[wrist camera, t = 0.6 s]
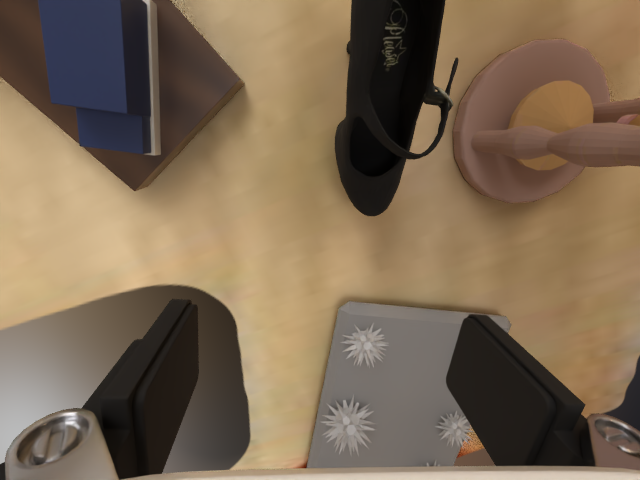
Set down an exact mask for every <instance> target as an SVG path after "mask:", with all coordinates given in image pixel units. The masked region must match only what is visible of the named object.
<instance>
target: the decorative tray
mask: <svg viewBox="0 0 640 480" xmlns="http://www.w3.org/2000/svg"><path fill="white" fill-rule="evenodd" d="M470 314H479V313H468V312H458V311H447V310H437V309H427V308H416V307H406V306H395V305H385V304H374V303H364V302H354V301H349V302H347V303H346V304H344V305H343V306H341V307H339V310H338V315H337V320H336V325H335V329H334V334H333V339H332V344H331V349H330V354H329V359H328V364H327V369H326V374H325V379H324V384H323V389H322V394H321V399H320V404H319V409H318V413H317V418H316V423H315V428H314V433H313V438H312V443H311V448H310V453H309V458H308V463H307V468H351V467H432V466H453V465H454V463H455V460H456V458H457V455H458V453H459V451H460V448H461V446H462V447H463V445H462V444H463V441H464V440H465V441H466V442H467V443H468V441H467V440H469V439H471V438H470V437H469V436H468V435H467V432H473V431H470V430H468V429H469V428H470V423H469V422H468V420H467V418H466V417H465V415H464V413H463V412H462V410H461V409H460V407H459V405H458V404H457V402H456V401H455V399H454V397H453V396H452V394H451V392H450V391H449V389H448V387H447V384H446V376H447V372H448V369H449V366H450V362H451V359H452V355H453V352H454V349H455V345H456V342H457V338H458V335H459V332H460V328H461V325H462V322H463V320H464V318H467V316H468V315H470ZM479 315H487V316H489V317H490V318H491V319H492V320H493V321H494V322H496V323H497V324H498V325H499V326H500V327H501V328H502V329H503V330H504V331H505V332H506V333H508V332H509V330H510V327H511V323H510V321H509V320H508V318H507V317H506V316H500V315H489V314H479ZM465 438H466V439H467V440H466V439H465ZM468 438H469V439H468ZM471 440H472V439H471ZM469 441H470V440H469Z"/></svg>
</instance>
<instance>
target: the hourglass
mask: <svg viewBox="0 0 640 480" xmlns="http://www.w3.org/2000/svg"><path fill="white" fill-rule="evenodd" d="M453 141H454V155H455V159H456V162H457V164H458V166H459V168H460V170H461V172H462V175H463V177H464V179H465V180H466V181H467V182H468V183H470V184H471V185H472V186H473V187H474V188H475V189H476V190H477V191H478V192H479V193H481V194H482V195H485V196H488V197H491V198H494V199H497V200H501V201H504V202H507V203H521V202H534V201H537V200H539V199H541V198H544V197H546V196H549V195H551V194H553V193H556V192H558V191H559V190H560V189H562V188H563V187H564V186H565V185H567V184H568V183H569V182H570V181H572V180H573V179H574V178H575V177H577V176H578V175H579V174H580V173H581V172H582V170H583V169H584V168H585V166H588V167H611V166H627V165H630V166H640V98H637V99H634V100H624V101H615V102H610V94H609V90H608V86H607V82H606V78H605V74H604V70H603V69H602V67H601V66H600V65H599V63H598V62H597V61H596V60H595V58H594V57H593V56H592V55H591V53H590V52H589V51H588V50H587V49H585V48H583V47H581V46H579V45H577V44H574V43H572V42H570V41H568V40H566V39H542V40H533V41H531V42H528V43H526V44H523V45H521V46H519V47H517V48H514V49H512V50H510V51H508V52H505V53H503V54H501V55H499V56H498V57H497V58H495V59H494V60H493V61H492V62H491V63H490V64H489V65H488V66H487V67H486V68H485V69H483V70H482V71H481V72H480V73H479V74H478V75H477V76H476V77H475V78H474V80H473V82H472V84H471V85H470V87H469V89H468V90H467V92H466V94H465V95H464V97H463V99H462V100H461V102H460V105H459V109H458V113H457V117H456V121H455V125H454V129H453Z"/></svg>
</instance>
